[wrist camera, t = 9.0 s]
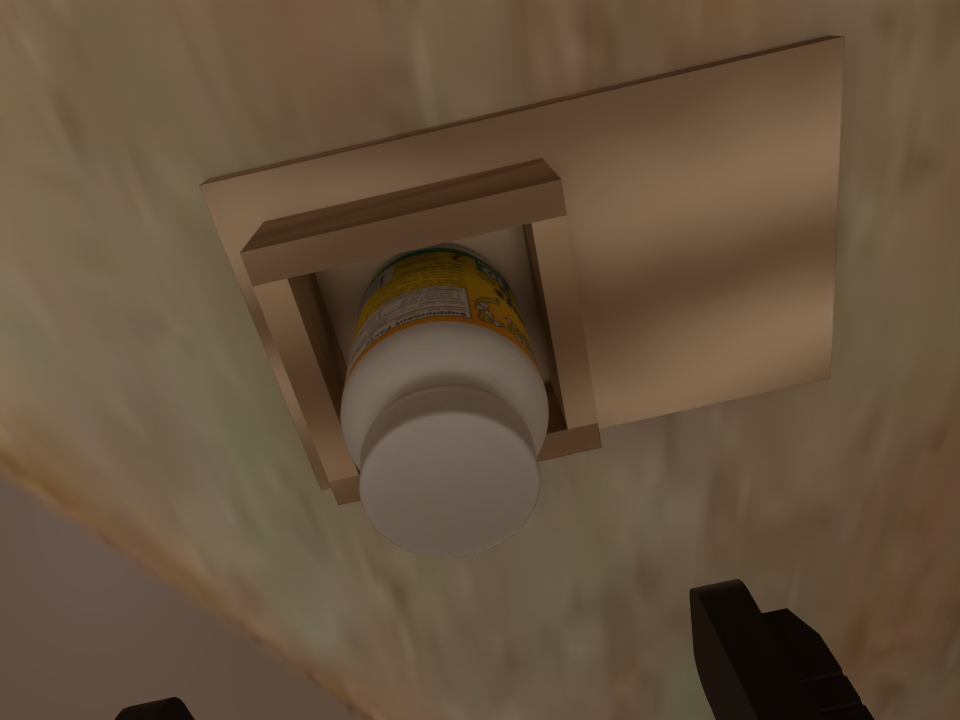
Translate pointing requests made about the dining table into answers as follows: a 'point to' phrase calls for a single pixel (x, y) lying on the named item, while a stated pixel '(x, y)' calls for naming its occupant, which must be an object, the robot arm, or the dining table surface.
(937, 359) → the dining table surface
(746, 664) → the robot arm
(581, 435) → the wooden stand
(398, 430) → the supplement bottle
